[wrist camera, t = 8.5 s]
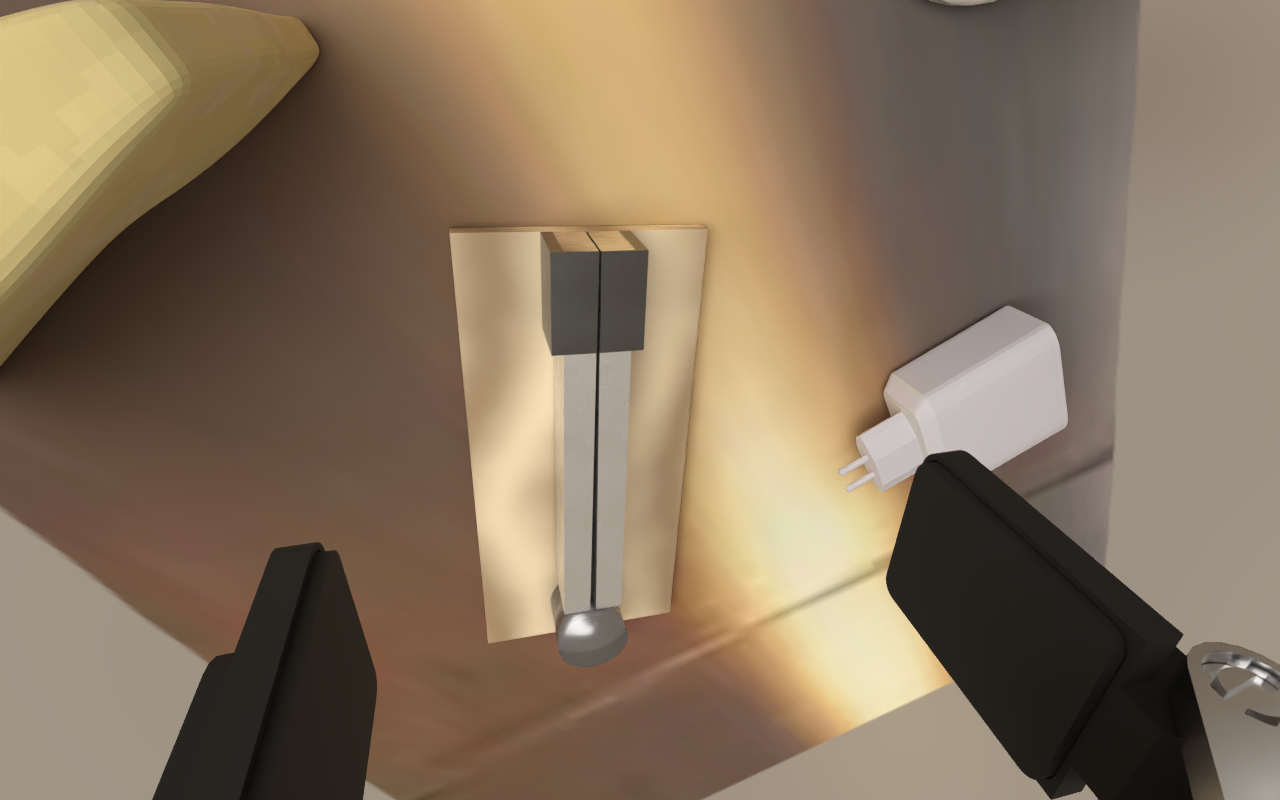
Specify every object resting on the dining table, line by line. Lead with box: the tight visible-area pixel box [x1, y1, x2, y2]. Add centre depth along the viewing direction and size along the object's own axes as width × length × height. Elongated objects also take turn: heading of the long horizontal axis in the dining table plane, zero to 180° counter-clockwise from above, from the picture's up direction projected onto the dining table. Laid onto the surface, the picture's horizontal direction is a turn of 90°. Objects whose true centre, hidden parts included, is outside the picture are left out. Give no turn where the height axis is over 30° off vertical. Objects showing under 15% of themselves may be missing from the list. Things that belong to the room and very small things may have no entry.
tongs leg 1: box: [540, 231, 599, 614], centre depth 35 cm, size 22×2×4 cm, turn 177°
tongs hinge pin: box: [550, 585, 627, 667], centre depth 42 cm, size 4×4×4 cm
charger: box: [839, 306, 1068, 492], centre depth 43 cm, size 5×9×15 cm
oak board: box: [449, 224, 708, 643], centre depth 39 cm, size 13×28×1 cm, turn 178°
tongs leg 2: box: [587, 230, 649, 609], centre depth 36 cm, size 22×2×4 cm, turn 178°
